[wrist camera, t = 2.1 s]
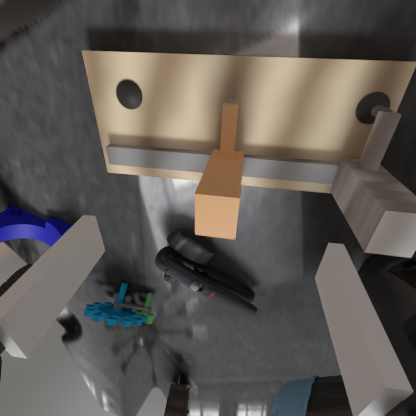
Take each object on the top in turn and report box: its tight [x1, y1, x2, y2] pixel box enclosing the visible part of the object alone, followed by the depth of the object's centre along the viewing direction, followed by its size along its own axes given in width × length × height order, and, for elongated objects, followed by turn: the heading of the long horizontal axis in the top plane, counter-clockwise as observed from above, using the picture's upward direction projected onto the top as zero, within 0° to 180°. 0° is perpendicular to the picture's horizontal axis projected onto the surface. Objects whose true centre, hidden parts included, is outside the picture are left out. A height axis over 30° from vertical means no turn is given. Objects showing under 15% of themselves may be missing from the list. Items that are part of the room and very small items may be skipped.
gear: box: [84, 283, 154, 327], centre depth 41 cm, size 11×6×10 cm
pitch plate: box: [82, 51, 416, 258], centre depth 20 cm, size 28×12×12 cm, turn 89°
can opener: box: [155, 229, 257, 316], centre depth 34 cm, size 18×7×6 cm, turn 48°
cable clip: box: [0, 206, 72, 247], centre depth 35 cm, size 12×4×6 cm, turn 64°
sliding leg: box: [195, 97, 244, 240], centre depth 20 cm, size 3×8×10 cm, turn 179°
